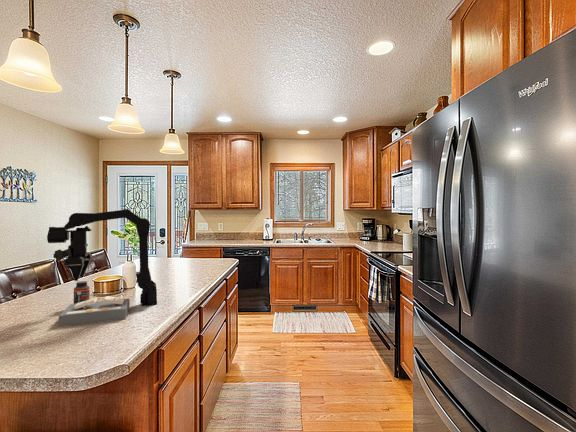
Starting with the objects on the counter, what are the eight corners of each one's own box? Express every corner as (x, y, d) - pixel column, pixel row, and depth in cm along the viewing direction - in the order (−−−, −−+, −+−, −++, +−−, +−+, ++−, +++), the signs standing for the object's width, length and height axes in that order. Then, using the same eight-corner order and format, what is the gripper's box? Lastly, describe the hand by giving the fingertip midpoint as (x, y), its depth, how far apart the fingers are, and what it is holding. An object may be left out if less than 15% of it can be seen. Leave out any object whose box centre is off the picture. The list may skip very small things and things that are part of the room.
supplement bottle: (81, 309, 134) (81, 283, 134) (70, 308, 135) (70, 283, 135) (92, 305, 140) (92, 280, 140) (81, 304, 141) (81, 280, 141)
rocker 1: (97, 299, 127) (96, 296, 127) (94, 302, 123) (93, 300, 122) (78, 305, 125) (77, 303, 125) (74, 309, 120) (73, 306, 120)
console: (129, 307, 137) (129, 296, 137) (125, 318, 122) (125, 306, 122) (70, 313, 128) (70, 301, 128) (58, 326, 114) (58, 313, 114)
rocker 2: (123, 301, 131) (124, 298, 131) (122, 304, 126) (123, 301, 126) (105, 298, 128) (106, 295, 128) (103, 302, 124) (104, 299, 124)
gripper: (62, 241, 136) (63, 276, 137) (47, 245, 119) (48, 285, 119) (91, 240, 141) (92, 274, 141) (81, 243, 123) (82, 282, 123)
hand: (79, 278), depth 131 cm, fingers open, 9 cm apart
